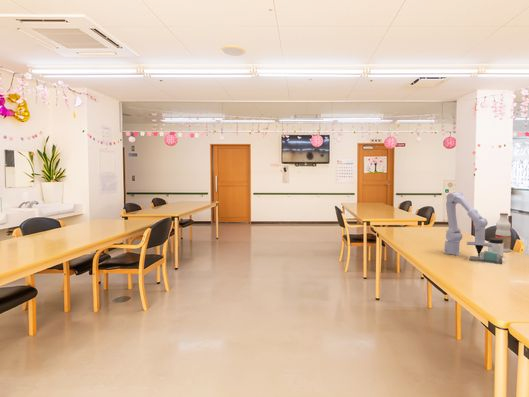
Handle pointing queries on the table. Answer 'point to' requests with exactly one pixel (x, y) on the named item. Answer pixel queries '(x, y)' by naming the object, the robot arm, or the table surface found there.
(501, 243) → the jar
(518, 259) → the table surface
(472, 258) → the vise
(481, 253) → the jaw
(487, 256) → the block
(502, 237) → the fruit juice
